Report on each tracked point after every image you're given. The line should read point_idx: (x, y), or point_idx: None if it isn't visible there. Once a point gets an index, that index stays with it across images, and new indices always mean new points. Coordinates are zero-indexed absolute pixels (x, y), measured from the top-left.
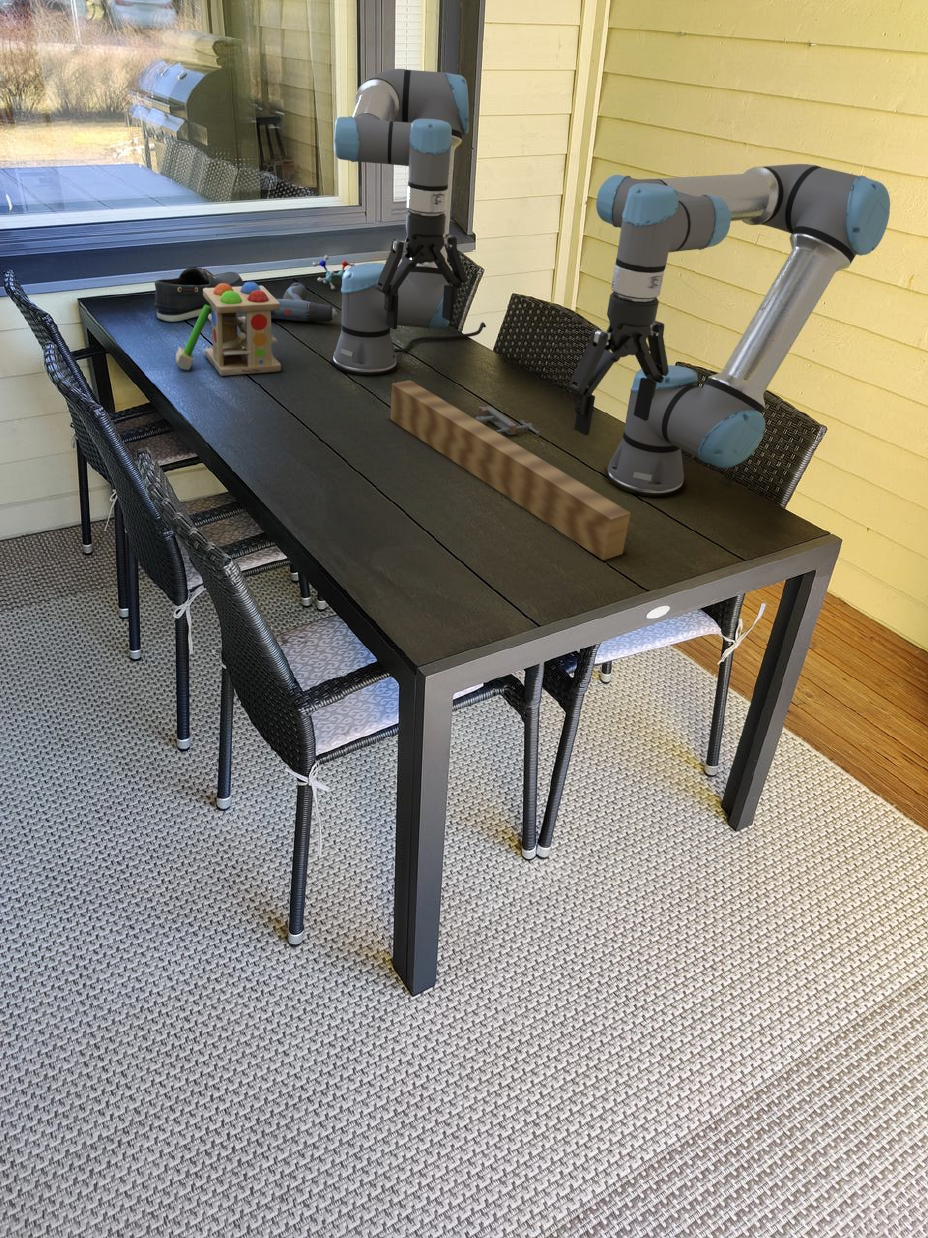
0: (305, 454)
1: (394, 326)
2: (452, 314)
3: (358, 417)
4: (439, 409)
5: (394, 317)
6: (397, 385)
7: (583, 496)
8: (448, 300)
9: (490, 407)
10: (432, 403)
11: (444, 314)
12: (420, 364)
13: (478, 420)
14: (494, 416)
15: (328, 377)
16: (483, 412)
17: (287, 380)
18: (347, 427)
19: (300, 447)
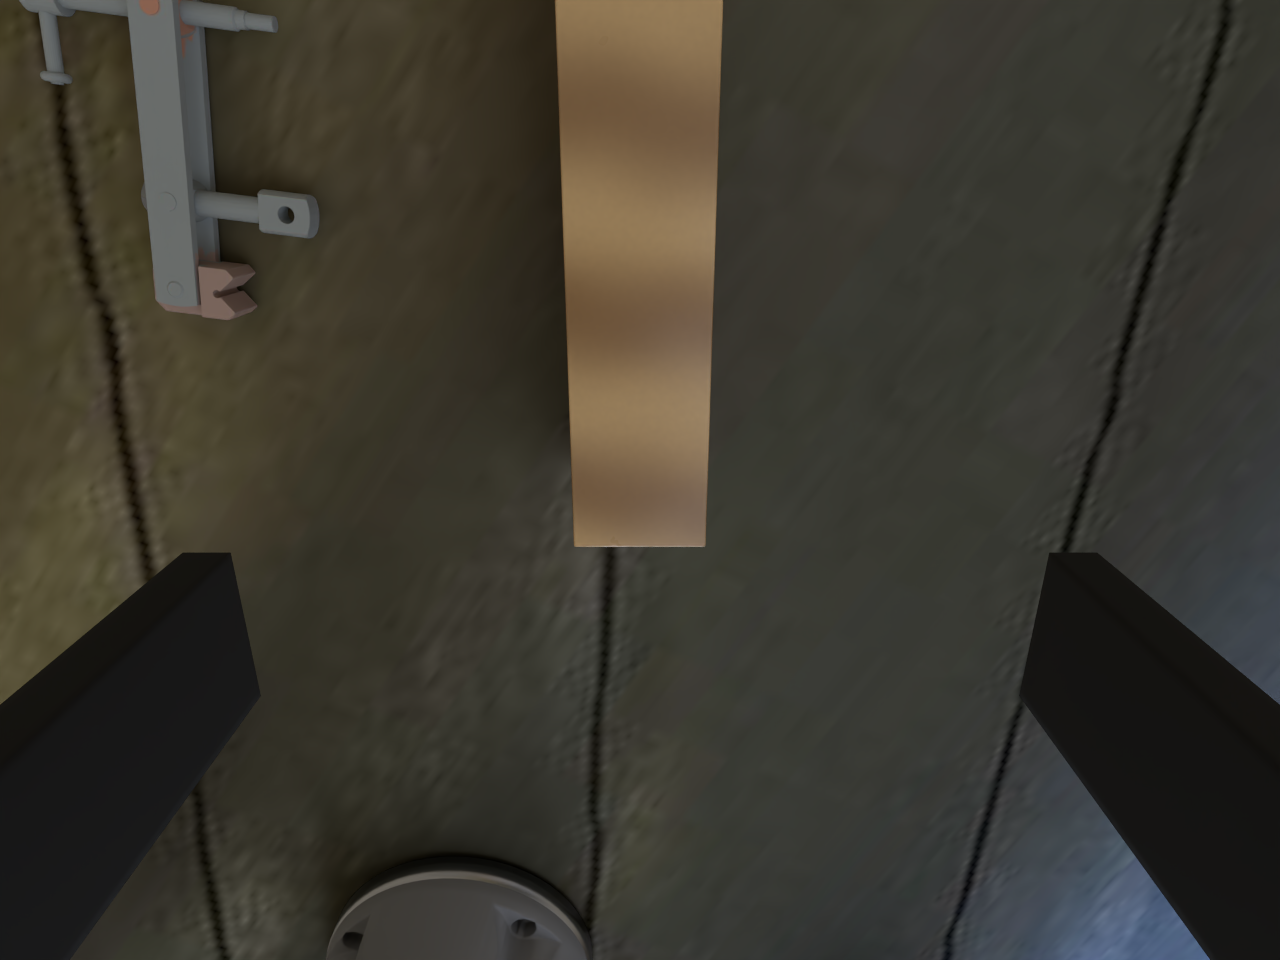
0: (1276, 311)
1: (1109, 567)
2: (145, 591)
3: (804, 548)
4: (684, 45)
5: (1189, 633)
6: (693, 509)
7: None
8: (81, 774)
9: (166, 284)
10: (665, 165)
11: (229, 683)
12: (234, 882)
13: (307, 197)
14: (192, 194)
15: (671, 904)
16: (230, 268)
17: (831, 932)
18: (916, 479)
19: (1238, 387)
